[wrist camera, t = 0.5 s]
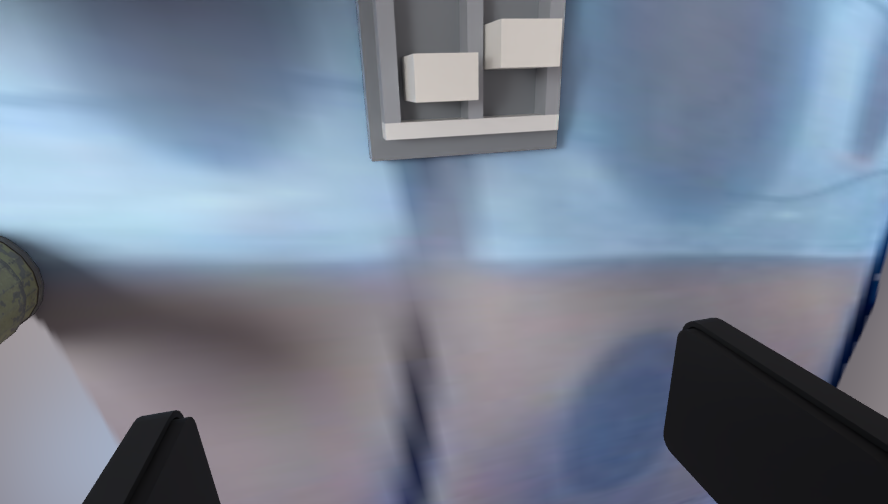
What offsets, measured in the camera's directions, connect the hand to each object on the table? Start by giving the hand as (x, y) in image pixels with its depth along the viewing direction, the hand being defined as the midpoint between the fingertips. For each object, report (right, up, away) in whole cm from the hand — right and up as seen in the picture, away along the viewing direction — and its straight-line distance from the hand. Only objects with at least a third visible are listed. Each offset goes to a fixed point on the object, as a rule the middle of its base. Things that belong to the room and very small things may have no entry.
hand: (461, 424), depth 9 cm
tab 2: (+4, +19, +26) cm, 33 cm away
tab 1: (-1, +17, +25) cm, 30 cm away
